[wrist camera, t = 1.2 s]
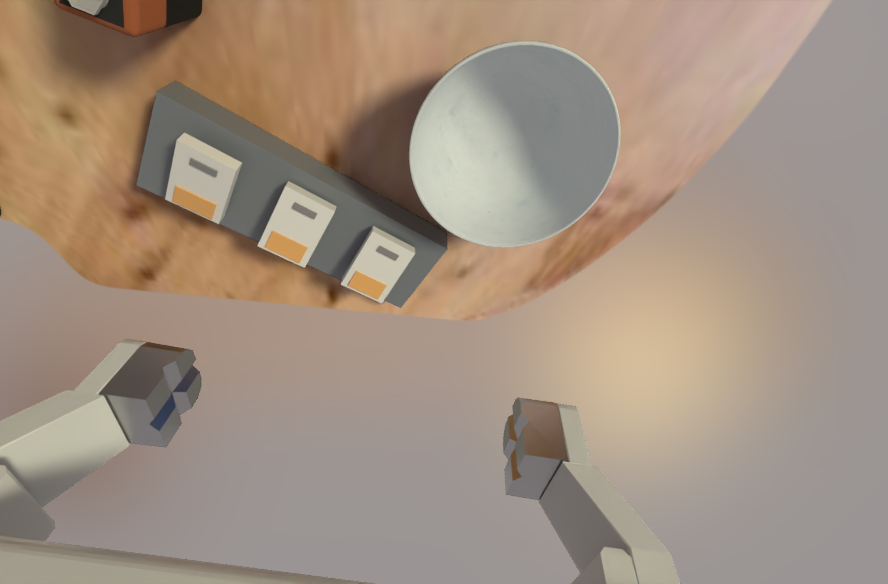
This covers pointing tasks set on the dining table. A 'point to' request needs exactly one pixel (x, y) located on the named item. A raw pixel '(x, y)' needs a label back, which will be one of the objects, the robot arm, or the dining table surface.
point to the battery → (133, 13)
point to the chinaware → (514, 144)
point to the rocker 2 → (296, 225)
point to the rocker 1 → (201, 178)
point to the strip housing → (266, 178)
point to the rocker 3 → (378, 265)
